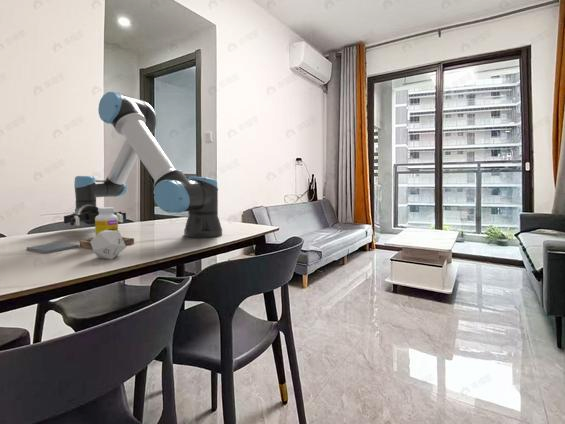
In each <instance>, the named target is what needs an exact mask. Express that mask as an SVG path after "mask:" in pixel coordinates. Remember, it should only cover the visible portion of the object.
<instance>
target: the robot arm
mask: <svg viewBox="0 0 565 424" xmlns="http://www.w3.org/2000/svg"><path fill="white" fill-rule="evenodd" d="M97 109H98V116H99V118H100V120H101V121H102V122H103V123H106V124H108V125H109V124H110V125H112V127H113V128H114V129H115V131H116V133H117V134H119V135H121V136H124V137H125V140H124V142H123V143H122V146H121V147H120V150H119V151H118V154H117V156H116V158H115V161H114V162H113V163H112V166H111V169H110V171H109V173H108V175H107V176H106V178H105V179H104V180H103V179H102V180H99V179H96V177H95V176H93V175H77V176H75V177H74V182H73V183H74V195H75V208H74V212H73V213H71V214H67V215H64V216H63V223H64V224H69V223H70V224H69V225H70V226H78V227H79V226H80V223H81V222H82V223H84V224H87V225H91V226H92V225H95V217H96V216H97V215H99V211H98V208H99V206H97V198H106V197H107V198H108V197H109V198H110V197H111V198H112V197H113V198H114V197H115V198H116V197H121V196H124V195H125V194H127V189H128V188H127V184H126V181H127V179H128V177H129V176H130V173H131V171H132V170H133V167H134V166H135V163H136V162H137V160H138V159H140V161H141V162H142V164H143V166H144V168H146V170H147V171H148V173H149V175H150V176H151V178H152V179H153V181H154V183H153V195H154V196H153V199H154V203H155V204H156V205H157V207H158V208H159V209H161V211H163V212H165V213H169V214H179V213H180V214H181V213H184V212H187V213H188V214H187V215H188V216H187V219H186V223H185V226H184V227H185V228H184V230H183V235H184V237H188V238H193V239H194V238H196V239H197V238H200V239H202V238H204V239H205V238H215V237H220V236H222V235H223V228H222V225H221V221H220V218H219V213H218V212H219V211H218V210H219V209H218V208H219V205H218V203H219V202H218V201H219V199H218V198H219V197H218V195H219V193H218V191H219V187H218V181H217V180H216V179H214V178H211V177H203V176H189V177H186V175H185V174H184V172H183V171H182V170H181V169H176V168H175V166H174V165H173V163H172V162H171V160H170V159H169V158H168V156H167V155H166V153H165V152H164V150H163V149H162V148H161V146H160V144H159V143H158V141H157V140H156V138H155V137H154V132H155V130H156V127H157V117H156V116H157V115H156V112H155V110H154V108H153V107H152V105H151V104H149V102H146V100H143V99H139V98H135V97H132V96H129V95H126V94H123V93H120V92H116V91H115V92H114V91H107V92H105V94H104V93H103V95H102V96H101V98H100V100H99V103H98V108H97ZM113 213H114V215H116V216H117V217H118V223H124V221H125V220H127V213H126V212H122V211H118V212H117V211H114V212H113Z"/></svg>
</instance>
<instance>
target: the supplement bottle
mask: <svg viewBox="0 0 565 424" xmlns="http://www.w3.org/2000/svg"><path fill="white" fill-rule="evenodd" d="M98 211H99V215H97V216H96V217H95V224H94V227H95V229H94V230H95V236H96V235H97V234H98V233H100V232H102V231H104V230H112V231H119V221H118V217H117V216H116V215H114V213H113V212H115V207H114V206H104V207H103V206H102V207H98Z"/></svg>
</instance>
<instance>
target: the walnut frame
mask: <svg viewBox="0 0 565 424" xmlns="http://www.w3.org/2000/svg"><path fill="white" fill-rule="evenodd" d="M121 237H122V239H123V241H124V243H125V245H126V247H127V246H133V245H134V244H135V238H134V237H127V236H121ZM92 239H93V238H88V239H83V240H79V244H78V245H79V248H86V249H89V250H90V249H91V250H93V248H92V245H91V243H90V241H91V240H92Z"/></svg>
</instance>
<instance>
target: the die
mask: <svg viewBox="0 0 565 424" xmlns="http://www.w3.org/2000/svg"><path fill="white" fill-rule="evenodd" d="M122 237H123V236H122V235H121V232H120V231H119V230H118V231H112V230H104V231H102V232H100V233H98V234H97V235H96V234H95V236H94V237H93V238H91V239H92V240H91V241H90V243H91V245H92V248H93V249H92V250H93V253H94V254H95V255H96V257H97V258H98V259H104V260H113V259H114V258H116V257H117V256H119V254H121V253H122V252H123V251H124V250H125V249H126V248H127V246H126V245H125V243H124V241H123V239H122Z"/></svg>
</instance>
